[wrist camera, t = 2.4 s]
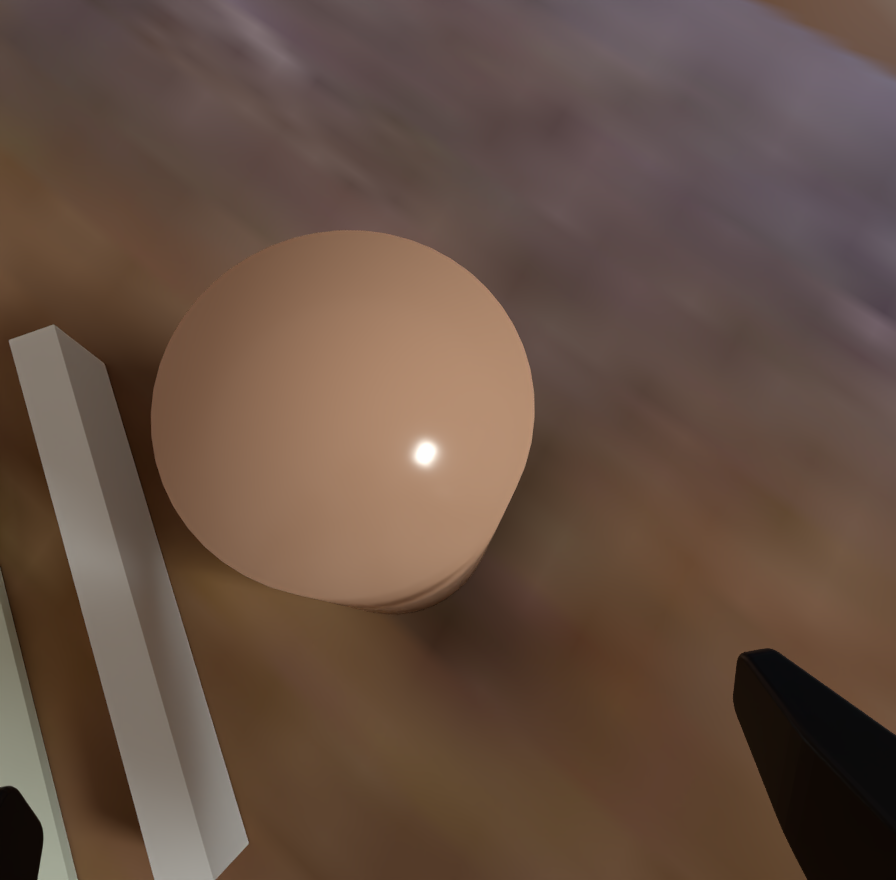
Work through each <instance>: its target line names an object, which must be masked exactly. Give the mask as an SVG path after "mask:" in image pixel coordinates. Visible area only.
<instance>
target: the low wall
mask: <svg viewBox="0 0 896 880" xmlns="http://www.w3.org/2000/svg"><path fill="white" fill-rule="evenodd" d="M9 344H10V347H11V351H12V355H13V358H14V362H15V366H16V369H17V373H18V377H19V381H20V384H21V388H22V392H23V395H24V399H25V403H26V406H27V410H28V414H29V418H30V421H31V425H32V429H33V432H34V436H35V440H36V443H37V447H38V451H39V454H40V458H41V462H42V466H43V469H44V473H45V477H46V480H47V484H48V488H49V491H50V495H51V499H52V503H53V506H54V510H55V514H56V517H57V521H58V525H59V528H60V532H61V536H62V540H63V543H64V547H65V551H66V554H67V558H68V562H69V565H70V569H71V573H72V576H73V580H74V584H75V588H76V591H77V595H78V599H79V602H80V606H81V610H82V613H83V617H84V621H85V625H86V628H87V632H88V636H89V639H90V643H91V647H92V650H93V654H94V658H95V662H96V665H97V669H98V673H99V676H100V680H101V684H102V687H103V691H104V695H105V698H106V702H107V706H108V710H109V713H110V717H111V721H112V724H113V728H114V732H115V735H116V739H117V743H118V747H119V750H120V754H121V758H122V761H123V765H124V769H125V772H126V776H127V780H128V783H129V787H130V791H131V795H132V798H133V802H134V806H135V809H136V813H137V817H138V820H139V824H140V828H141V832H142V835H143V839H144V843H145V846H146V850H147V854H148V857H149V861H150V865H151V869H152V872H153V876H154V880H215V879H216V878H217V877H218V876H219V875H220V874H221V873H222V872H223V871H224V870H225V869H226V868H227V867H228V865H229V864H230V863H231V862H232V861H233V860H234V859H235V858H236V857H237V856H238V855H239V854H240V853H241V852H242V850H243V849H244V848H245V847H246V846H247V845H248V844H249V842H248V839H247V836H246V832H245V829H244V826H243V822H242V819H241V816H240V812H239V809H238V806H237V802H236V799H235V796H234V792H233V789H232V786H231V782H230V779H229V776H228V772H227V769H226V766H225V762H224V759H223V756H222V753H221V749H220V746H219V743H218V739H217V736H216V733H215V729H214V726H213V723H212V719H211V716H210V713H209V709H208V706H207V703H206V699H205V696H204V693H203V689H202V686H201V683H200V679H199V676H198V673H197V669H196V666H195V663H194V659H193V656H192V653H191V649H190V646H189V643H188V639H187V636H186V633H185V629H184V626H183V623H182V620H181V616H180V613H179V610H178V606H177V603H176V600H175V596H174V593H173V590H172V586H171V583H170V580H169V576H168V573H167V570H166V566H165V563H164V560H163V556H162V553H161V550H160V546H159V543H158V540H157V536H156V533H155V530H154V526H153V523H152V520H151V516H150V513H149V510H148V506H147V503H146V500H145V496H144V493H143V490H142V487H141V483H140V480H139V477H138V473H137V470H136V467H135V463H134V460H133V457H132V453H131V450H130V447H129V443H128V440H127V437H126V433H125V430H124V427H123V423H122V420H121V417H120V413H119V410H118V407H117V403H116V400H115V397H114V393H113V390H112V387H111V383H110V380H109V377H108V373H107V370H106V367H105V364H104V363H103V362H102V361H101V360H99V359H98V358H97V357H95V356H94V355H93V354H92V353H90V352H89V351H88V350H86V349H85V348H84V347H82V346H81V345H80V344H79V343H77V342H76V341H75V340H73V339H72V338H71V337H70V336H68V335H67V334H66V333H64V332H63V331H62V330H61V329H59V328H58V327H57V326H55V325H54V324H53V325H51V326H48V327H45V328H42V329H39V330H36V331H33V332H31V333H28V334H25V335H22V336H19V337H16V338H13V339H11V340H9Z"/></svg>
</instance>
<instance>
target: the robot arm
mask: <svg viewBox="0 0 896 880" xmlns="http://www.w3.org/2000/svg"><path fill="white" fill-rule="evenodd" d="M733 702H734V708H735V711H736V714H737V717H738V720H739V722H740V725H741V727H742V730H743V732H744V735H745V738H746V740H747V743H748V745H749V748H750V750H751V753H752V755H753V758H754V760H755V763H756V765H757V768H758V770H759V773H760V776H761V778H762V781H763V783H764V786H765V788H766V791H767V793H768V796H769V798H770V801H771V803H772V806H773V808H774V811H775V814H776V816H777V818H778V821H779V823H780V825H781V828H782V830H783V833H784V835H785V837H786V839H787V841H788V843H789V845H790V847H791V849H792V851H793V853H794V855H795V857H796V859H797V861H798V863H799V865H800V867H801V868H802V870H803V872H804V874H805V876H806V878H807V880H896V735H895V734H893V733H892V732H890V731H889V730H887V729H886V728H885V727H883V726H882V725H880V724H879V723H878V722H876V721H875V720H873V719H872V718H871V717H869V716H868V715H866V714H865V713H864V712H862V711H861V710H859V709H858V708H856V707H855V706H854V705H852V704H851V703H849V702H848V701H847V700H845V699H844V698H842V697H841V696H840V695H838V694H837V693H835V692H834V691H833V690H831V689H830V688H828V687H827V686H825V685H824V684H823V683H821V682H820V681H818V680H817V679H816V678H814V677H813V676H811V675H810V674H809V673H807V672H806V671H804V670H803V669H802V668H800V667H799V666H797V665H796V664H794V663H793V662H792V661H790V660H789V659H787V658H786V657H785V656H783V655H782V654H780V653H779V652H777V651H775V650H773V649H769V648H765V649H759V650H754V651H748V652H744V653H741V654H740V656H739V657H738V660H737V666H736V674H735V683H734V691H733ZM43 841H44V834H43V828H42V825H41V822H40V821H39V819H38V817H37V816H36V815H35V813H34V812H33V810H32V809H31V807H30V806H29V804H28V803H27V801H26V800H25V799H24V797H23V796H22V794H21V793H20V791H19V790H18V789H17V788H15V787H13V786H3V787H0V880H38V874H39V868H40V861H41V855H42V849H43Z"/></svg>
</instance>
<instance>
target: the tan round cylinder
mask: <svg viewBox="0 0 896 880" xmlns="http://www.w3.org/2000/svg"><path fill="white" fill-rule="evenodd" d="M533 426H534V390H533V383H532V376H531V370H530V367H529V363H528V360H527V356H526V353H525V350H524V347H523V344H522V342H521V340H520V338H519V336H518V333H517V331H516V329H515V327H514V325H513V323H512V322H511V320H510V319H509V317H508V315H507V314H506V312H505V310H504V309H503V307H502V306H501V305H500V303H499V302H498V301H497V300H496V299H495V297H494V296H493V295H492V294H491V292H490V291H489V290H488V289H487V288H486V287H485V286H484V285H483V284H482V283H481V282H480V281H479V280H478V279H477V278H475V277H474V276H473V275H472V274H471V273H470V272H469V271H467V270H466V269H465V268H463V267H462V266H460V265H459V264H458V263H456V262H455V261H453V260H452V259H450V258H448V257H447V256H445V255H443V254H441V253H439V252H437V251H436V250H434V249H432V248H430V247H427V246H425V245H422V244H419V243H417V242H414V241H412V240H409V239H405V238H401V237H398V236H394V235H390V234H385V233H378V232H370V231H353V230H338V231H329V232H319V233H313V234H309V235H304V236H300V237H296V238H292V239H289V240H286V241H283V242H281V243H278V244H275V245H272V246H270V247H268V248H266V249H263V250H261V251H259V252H257V253H255V254H253V255H251V256H249V257H248V258H246V259H245V260H243V261H242V262H240V263H238V264H237V265H235V266H234V267H232V268H231V269H229V270H228V271H227V272H226V273H224V274H223V275H222V276H221V277H220V278H218V279H217V280H216V281H215V282H214V283H212V284H211V285H210V286H209V287H208V288H207V289H206V290H205V291H204V292H203V294H202V295H201V296H200V297H199V298H198V299H197V300H196V301H195V302H194V303H193V305H192V306H191V307H190V309H189V310H188V312H187V313H186V314H185V316H184V317H183V318H182V320H181V321H180V323H179V324H178V326H177V328H176V330H175V332H174V333H173V335H172V337H171V339H170V341H169V343H168V345H167V347H166V350H165V352H164V355H163V358H162V360H161V363H160V365H159V369H158V373H157V377H156V381H155V385H154V389H153V398H152V407H151V437H152V443H153V450H154V456H155V461H156V465H157V468H158V471H159V474H160V477H161V480H162V484H163V486H164V488H165V490H166V492H167V494H168V496H169V499H170V501H171V503H172V505H173V507H174V508H175V510H176V511H177V513H178V514H179V516H180V517H181V519H182V520H183V522H184V523H185V525H186V526H187V528H188V529H189V530H190V531H191V532H192V533H193V534H194V536H195V537H196V538H197V539H198V540H199V541H200V542H201V543H202V545H203V546H204V547H206V548H207V549H208V550H209V551H210V552H212V553H213V554H214V555H215V556H216V557H217V558H219V559H220V560H221V561H222V562H223V563H225V564H227V565H228V566H230V567H231V568H233V569H235V570H236V571H238V572H239V573H241V574H243V575H244V576H246V577H248V578H250V579H253V580H255V581H257V582H259V583H262V584H264V585H266V586H268V587H272V588H275V589H278V590H282V591H285V592H289V593H292V594H296V595H300V596H304V597H309V598H313V599H317V600H322V601H326V602H330V603H334V604H339V605H343V606H347V607H352V608H356V609H360V610H364V611H369V612H373V613H380V614H406V613H413V612H417V611H421V610H424V609H427V608H429V607H432V606H434V605H436V604H438V603H440V602H442V601H443V600H445V599H447V598H448V597H450V596H451V595H452V594H454V593H455V592H456V591H458V590H459V589H460V588H461V587H462V586H463V585H464V584H465V583H466V582H467V581H468V579H469V578H470V577H471V575H472V574H473V573H474V571H475V570H476V568H477V567H478V565H479V563H480V561H481V560H482V558H483V556H484V553H485V551H486V549H487V547H488V545H489V543H490V541H491V539H492V537H493V535H494V533H495V531H496V529H497V526H498V524H499V522H500V520H501V518H502V516H503V514H504V512H505V510H506V508H507V506H508V504H509V502H510V500H511V497H512V495H513V493H514V491H515V489H516V487H517V484H518V482H519V480H520V477H521V475H522V472H523V470H524V467H525V465H526V461H527V457H528V453H529V449H530V446H531V442H532V434H533Z"/></svg>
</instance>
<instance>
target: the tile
mask: <svg viewBox="0 0 896 880" xmlns="http://www.w3.org/2000/svg"><path fill="white" fill-rule="evenodd" d="M3 786H13V787H15V788H17V789H18V790H19V791H20V793H21V794H22V796H23V797H24V799H25V800H26V801H27V803H28V804H29V806H30V807H31V809H32V810H33V812H34V813H35V815H36V816H37V817H38V819H39V821H40V822H41V825H42V828H43V834H44V841H43V849H42V855H41V861H40V868H39V874H38V880H78V879H77V875H76V871H75V867H74V863H73V859H72V855H71V851H70V847H69V843H68V839H67V835H66V831H65V827H64V823H63V819H62V815H61V811H60V807H59V803H58V798H57V794H56V790H55V786H54V782H53V778H52V774H51V770H50V766H49V762H48V758H47V754H46V750H45V746H44V742H43V738H42V734H41V730H40V726H39V722H38V718H37V714H36V710H35V706H34V702H33V698H32V694H31V690H30V686H29V682H28V678H27V674H26V670H25V666H24V662H23V658H22V654H21V650H20V646H19V641H18V637H17V633H16V629H15V625H14V621H13V617H12V613H11V609H10V605H9V601H8V597H7V593H6V589H5V585H4V581H3V577H2V573H1V569H0V787H3Z"/></svg>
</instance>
